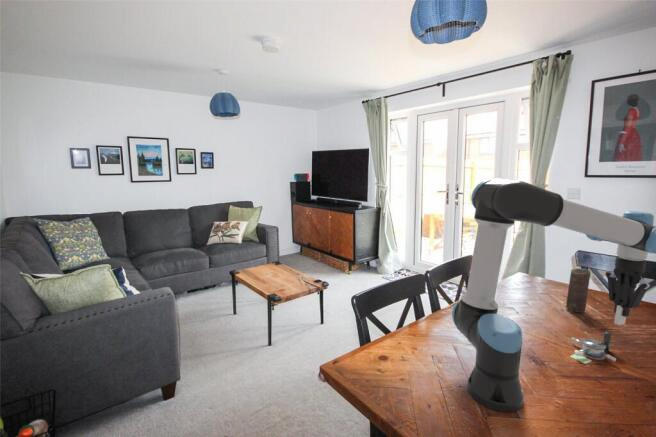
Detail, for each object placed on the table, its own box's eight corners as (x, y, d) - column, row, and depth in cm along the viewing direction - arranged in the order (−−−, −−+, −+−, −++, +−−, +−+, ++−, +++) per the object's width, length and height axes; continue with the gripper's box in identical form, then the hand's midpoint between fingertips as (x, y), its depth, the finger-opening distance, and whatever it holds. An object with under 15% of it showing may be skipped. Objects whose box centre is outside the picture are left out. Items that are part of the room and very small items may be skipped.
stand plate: (601, 375, 109) (601, 372, 109) (560, 355, 121) (560, 351, 120) (634, 360, 117) (634, 357, 117) (592, 342, 129) (593, 339, 128)
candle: (588, 315, 151) (594, 273, 147) (570, 313, 152) (575, 272, 149) (579, 308, 158) (584, 267, 155) (562, 306, 160) (567, 267, 156)
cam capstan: (629, 359, 115) (632, 342, 114) (596, 370, 110) (599, 352, 108) (585, 339, 129) (587, 323, 127) (554, 347, 123) (556, 330, 122)
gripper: (662, 263, 105) (649, 332, 109) (619, 252, 118) (608, 314, 122) (644, 264, 104) (631, 334, 107) (602, 252, 116) (592, 315, 120)
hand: (619, 323), depth 115 cm, fingers closed
